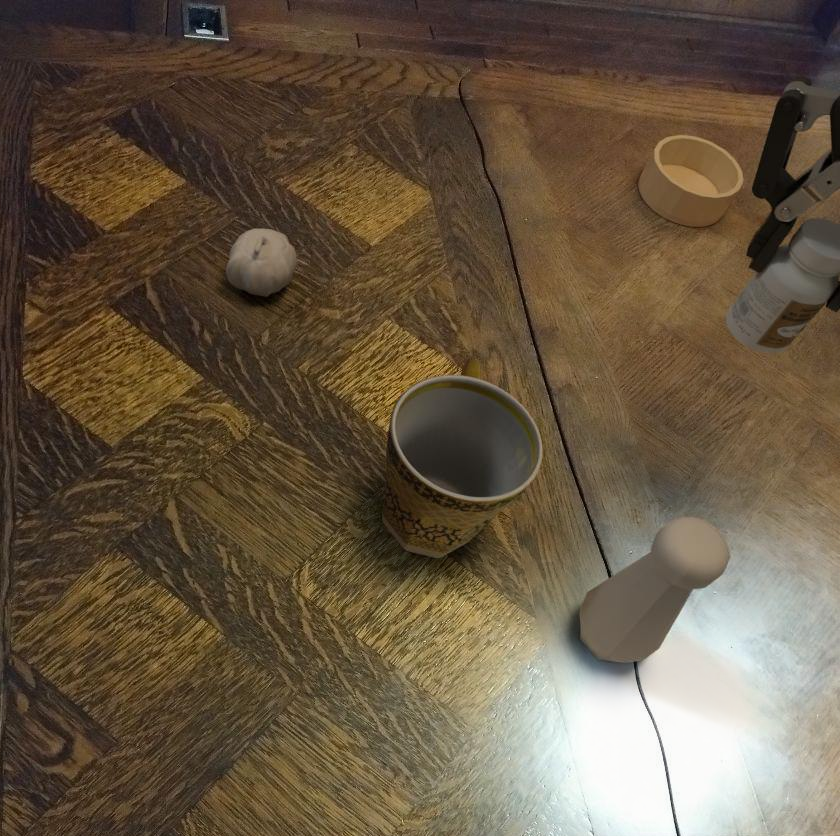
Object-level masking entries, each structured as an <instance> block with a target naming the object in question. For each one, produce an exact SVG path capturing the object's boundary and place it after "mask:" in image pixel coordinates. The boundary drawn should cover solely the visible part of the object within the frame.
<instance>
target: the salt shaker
mask: <svg viewBox="0 0 840 836" xmlns="http://www.w3.org/2000/svg"><path fill="white" fill-rule="evenodd" d="M730 559H731V555H730V550H729V545H728V542H727V541H726V539H725V538H724V537H723V535H722V533H721V532H720V530H718V529H717V528H716V527H714V526H713V525H712V524H711V523H709V522H708V521H706V520H703V519H700V518H698V517H694V516H691V515H689V516H681V517H680V516H679V517H676V518H674V519H673V520H670V521H669V522H668V523H665V524H664V525H663V526H662V527H660V528H659V529H658V531H656V534H655V535H654V538H653V541H652V543H651V548H650V551H649V552H648V553H647V554H645V555H643V556H642V557H640V558H638V559H637V560H635V561H634V562H632V563H631V564H629V565H627V566H626V567H625V568H623V569H622V570H620V571H618V572H616V573H615V574H614V575H611V576H610V577H609V578H607V579H605V580H604V581H602V582H601V583H599V584H598V585H597V586H595V587H593V588H591V589H590V590H588V591H587V592H586V593H585V596H584V598H583V601H582V604H581V606H580V609H579V611H578V612H579V621H580V638H579V639H580V641H581V642H582V643H583V645H584V646H586V648H587V649H588V650H589V651H590V652H591V654H592V655H594V657H595V658H596V659H597V660H598V661H605V662H614V663H615V662H616V663H622V664H623V663H624V664H627V663H634V662H642V661H644V660H646V659H647V658H649V657H650V656H652V655H653V654H655V652H656V651H658V650H659V649H660V648H661V647H662V644H663V643H664V641H665V640H666V637H667V635H668V634H669V632H670V630H671V629H672V627H673V625H674V623H675V622H676V620H677V619H678V617H679V616H680V615H679V614H680V613H681V612H682V609H683V608H684V606H685V605H686V603H687V601H688V600H689V598H690V596H691V594H692V592H693V590H699V589H700V590H701V589H705V588H708V586H709V585H711V584H713V582H715V581H716V580H718V579H719V578H721V576H723V574H724V572H725V571H726V570H727V568H728V564H729V561H730Z"/></svg>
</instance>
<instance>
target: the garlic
mask: <svg viewBox="0 0 840 836" xmlns="http://www.w3.org/2000/svg"><path fill="white" fill-rule="evenodd" d="M297 256H298V255H297V251H296V249H295V247H294V246H292V244H290V242H289V238H288V236H287V235H286V234H284V233H282V232H279V231H276V230H274V229H270V228H256V227H255V228H252V229H249V230H246V231H245V232H243V233H242V234H240V235H239V236H238V237H237V239H236V240H235V242H234V244H232V245H231V248H230V251H229V260H228V262H227V265H226V268H225V275H226V278H227V280H228V282H229V283H230V285H232V286H233V287H234V288H236V289H238V290H241V291H245V292H247V293H248V294H250V295H253V296H254V295H255V296H260V297H265V298H266V297H269V296H270V295H271V294H275V293H278V292H280V291H281V290H283V288H285V287H288V286H289V285H290V284H291V281H292V279H293V278H292V277H293V275H294V272H295V271H296V266H297Z"/></svg>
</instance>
